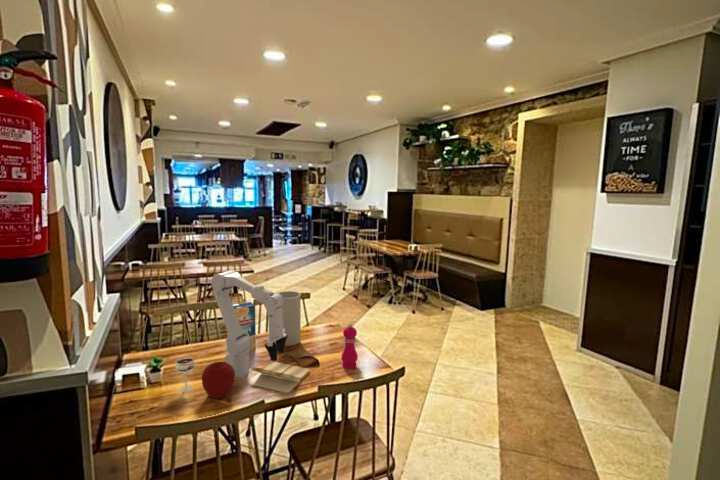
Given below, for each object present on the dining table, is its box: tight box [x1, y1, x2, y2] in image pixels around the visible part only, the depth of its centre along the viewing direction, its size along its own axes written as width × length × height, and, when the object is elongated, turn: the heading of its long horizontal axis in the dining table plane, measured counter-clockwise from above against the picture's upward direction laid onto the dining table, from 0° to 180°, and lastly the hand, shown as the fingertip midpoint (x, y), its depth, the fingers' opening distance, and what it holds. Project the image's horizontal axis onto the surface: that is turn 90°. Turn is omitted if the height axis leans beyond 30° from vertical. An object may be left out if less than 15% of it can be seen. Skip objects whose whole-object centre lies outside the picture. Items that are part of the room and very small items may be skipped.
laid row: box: [263, 361, 311, 382], centre depth 163 cm, size 18×8×1 cm, turn 70°
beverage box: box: [232, 301, 257, 351], centre depth 185 cm, size 7×11×22 cm, turn 124°
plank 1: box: [251, 366, 278, 377], centre depth 157 cm, size 9×8×1 cm
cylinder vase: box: [278, 290, 302, 347], centre depth 194 cm, size 12×12×25 cm
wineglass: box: [175, 355, 196, 393], centre depth 148 cm, size 7×7×12 cm
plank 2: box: [272, 371, 301, 383], centre depth 154 cm, size 9×8×1 cm
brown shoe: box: [287, 345, 320, 369], centre depth 176 cm, size 18×7×7 cm, turn 36°
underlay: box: [246, 370, 312, 394], centre depth 159 cm, size 20×19×1 cm
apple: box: [201, 361, 236, 400], centre depth 144 cm, size 12×12×13 cm
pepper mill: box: [341, 323, 358, 370], centre depth 169 cm, size 7×7×20 cm
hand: (277, 356), depth 154 cm, fingers open, 7 cm apart
